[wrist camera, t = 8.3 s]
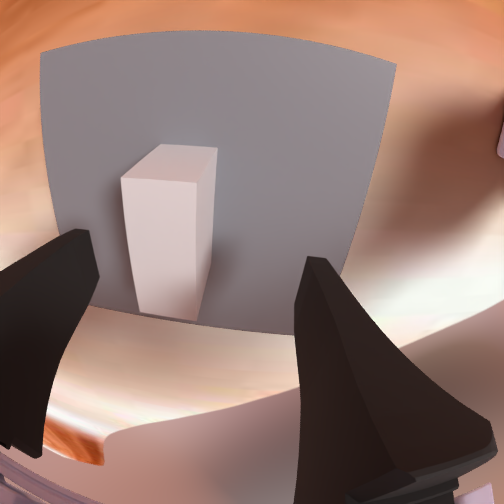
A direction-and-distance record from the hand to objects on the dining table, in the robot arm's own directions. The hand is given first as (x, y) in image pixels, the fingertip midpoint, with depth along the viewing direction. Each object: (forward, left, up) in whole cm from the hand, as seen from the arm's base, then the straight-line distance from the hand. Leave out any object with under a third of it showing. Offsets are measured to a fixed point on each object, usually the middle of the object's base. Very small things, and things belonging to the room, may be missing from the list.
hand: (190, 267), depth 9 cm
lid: (+1, +1, -6) cm, 6 cm away
